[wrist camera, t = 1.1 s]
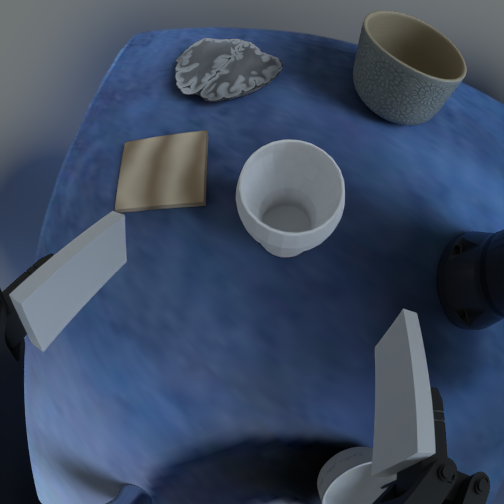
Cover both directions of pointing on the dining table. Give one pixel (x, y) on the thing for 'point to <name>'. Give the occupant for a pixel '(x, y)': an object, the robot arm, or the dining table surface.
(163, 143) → the oak board
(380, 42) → the planter
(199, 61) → the brain slice
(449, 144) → the dining table surface
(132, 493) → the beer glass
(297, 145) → the cup
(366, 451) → the teacup
